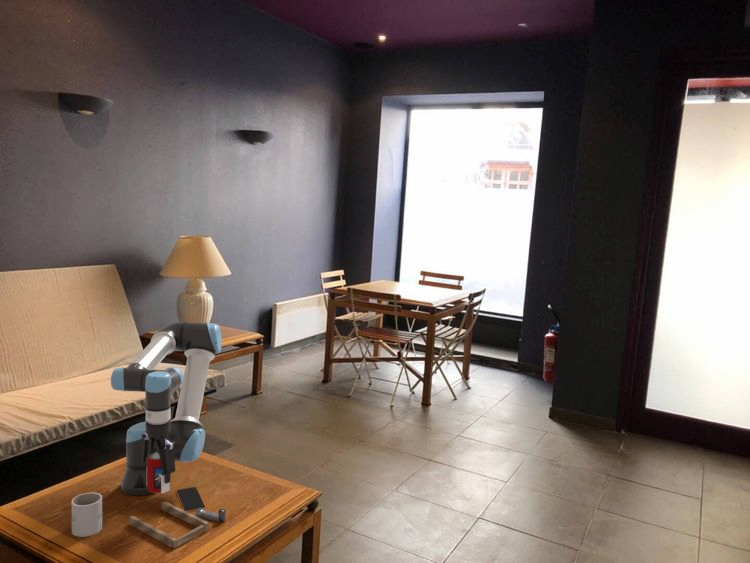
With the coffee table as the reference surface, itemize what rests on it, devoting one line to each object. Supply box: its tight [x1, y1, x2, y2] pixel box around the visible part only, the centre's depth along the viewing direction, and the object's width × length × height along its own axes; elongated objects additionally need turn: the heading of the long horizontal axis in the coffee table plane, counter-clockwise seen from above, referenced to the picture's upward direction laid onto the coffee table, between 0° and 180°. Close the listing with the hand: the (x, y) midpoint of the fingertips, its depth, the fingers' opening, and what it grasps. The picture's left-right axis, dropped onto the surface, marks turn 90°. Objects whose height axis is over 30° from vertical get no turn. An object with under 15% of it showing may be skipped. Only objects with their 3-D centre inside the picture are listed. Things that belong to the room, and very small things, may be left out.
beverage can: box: [147, 451, 163, 494], centre depth 189 cm, size 7×7×12 cm
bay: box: [129, 500, 210, 549], centre depth 188 cm, size 22×13×2 cm, turn 57°
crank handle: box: [195, 508, 227, 523], centre depth 194 cm, size 11×3×4 cm, turn 72°
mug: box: [71, 492, 103, 538], centre depth 185 cm, size 12×9×10 cm
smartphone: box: [175, 486, 207, 513], centre depth 206 cm, size 8×17×1 cm, turn 28°
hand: (158, 487), depth 190 cm, fingers closed on beverage can, 7 cm apart
